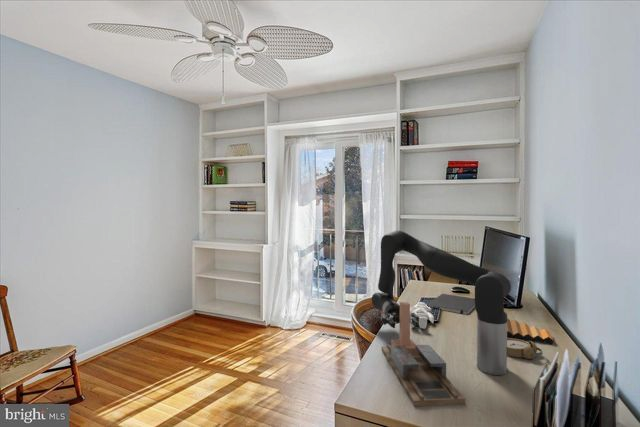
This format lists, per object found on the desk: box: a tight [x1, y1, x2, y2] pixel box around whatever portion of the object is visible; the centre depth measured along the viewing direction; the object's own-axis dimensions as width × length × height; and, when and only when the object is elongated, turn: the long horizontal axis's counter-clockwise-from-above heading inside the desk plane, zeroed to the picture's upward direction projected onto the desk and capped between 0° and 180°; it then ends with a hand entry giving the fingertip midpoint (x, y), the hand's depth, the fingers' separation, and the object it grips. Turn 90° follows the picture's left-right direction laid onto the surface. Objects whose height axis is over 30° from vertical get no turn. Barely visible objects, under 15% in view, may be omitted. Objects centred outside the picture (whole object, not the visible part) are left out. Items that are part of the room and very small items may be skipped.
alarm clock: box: [507, 337, 543, 360], centre depth 127 cm, size 11×5×15 cm
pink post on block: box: [390, 301, 419, 356], centre depth 125 cm, size 8×8×18 cm
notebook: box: [426, 293, 475, 315], centre depth 189 cm, size 22×2×28 cm
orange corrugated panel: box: [507, 317, 554, 345], centre depth 152 cm, size 25×3×25 cm
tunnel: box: [390, 344, 447, 380], centre depth 112 cm, size 14×14×5 cm
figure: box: [410, 301, 435, 329], centre depth 162 cm, size 13×8×25 cm
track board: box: [381, 343, 466, 407], centre depth 112 cm, size 36×15×2 cm, turn 4°
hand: (405, 325), depth 124 cm, fingers open, 8 cm apart
